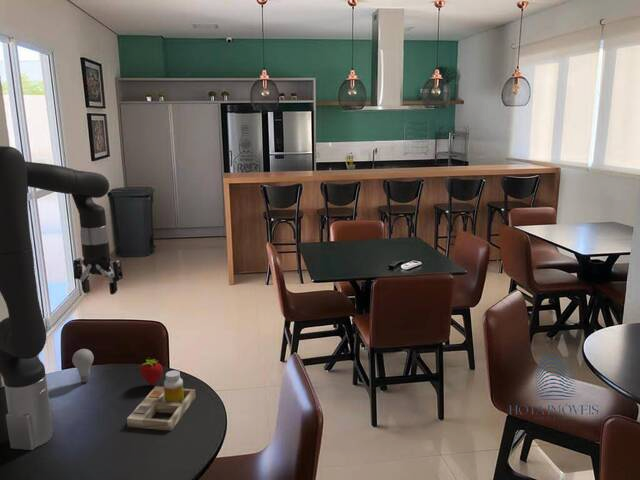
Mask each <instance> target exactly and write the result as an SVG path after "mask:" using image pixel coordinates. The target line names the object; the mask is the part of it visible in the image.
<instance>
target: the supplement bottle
mask: <svg viewBox="0 0 640 480" xmlns="http://www.w3.org/2000/svg"><path fill="white" fill-rule="evenodd" d="M180 372H181V371H179V370H173V369H172V370H170V371H167V372H166V373H165V380H164V381H163V387H164V394H165V402H172V403H182V402H183V400H184V399H185V398H184V390H183V388H184V381H183V378H181V373H180Z"/></svg>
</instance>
